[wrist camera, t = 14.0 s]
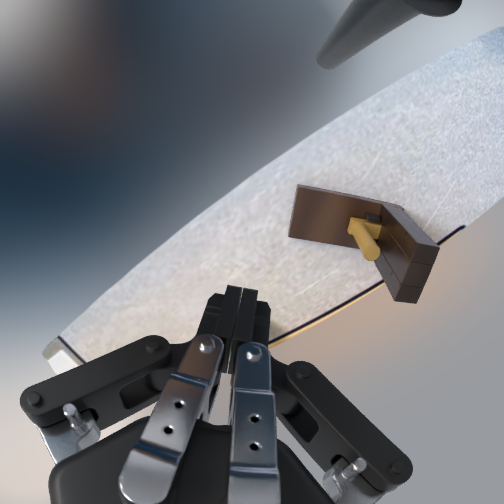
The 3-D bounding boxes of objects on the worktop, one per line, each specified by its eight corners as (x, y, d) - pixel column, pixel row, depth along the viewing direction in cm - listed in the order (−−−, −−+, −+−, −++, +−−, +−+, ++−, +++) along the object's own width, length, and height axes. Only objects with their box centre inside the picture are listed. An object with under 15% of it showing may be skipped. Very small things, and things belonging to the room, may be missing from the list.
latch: (288, 232, 41) (290, 287, 29) (297, 184, 38) (305, 221, 26) (386, 249, 41) (419, 304, 29) (400, 205, 38) (444, 248, 26)
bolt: (347, 230, 38) (361, 259, 31) (350, 216, 37) (366, 243, 30) (386, 238, 38) (407, 267, 31) (390, 224, 37) (412, 252, 30)
